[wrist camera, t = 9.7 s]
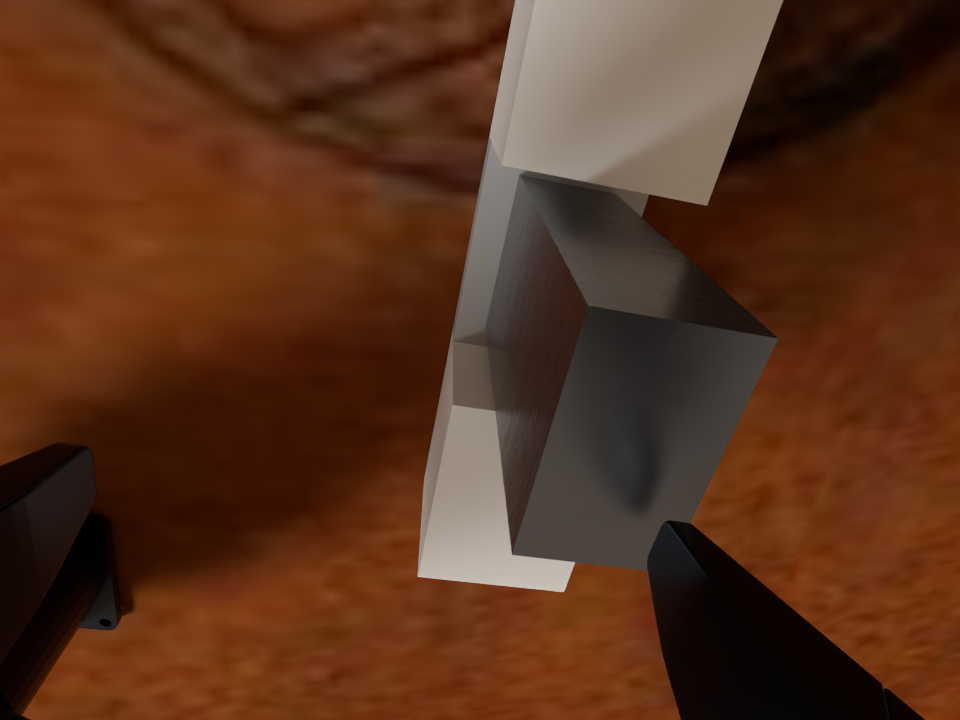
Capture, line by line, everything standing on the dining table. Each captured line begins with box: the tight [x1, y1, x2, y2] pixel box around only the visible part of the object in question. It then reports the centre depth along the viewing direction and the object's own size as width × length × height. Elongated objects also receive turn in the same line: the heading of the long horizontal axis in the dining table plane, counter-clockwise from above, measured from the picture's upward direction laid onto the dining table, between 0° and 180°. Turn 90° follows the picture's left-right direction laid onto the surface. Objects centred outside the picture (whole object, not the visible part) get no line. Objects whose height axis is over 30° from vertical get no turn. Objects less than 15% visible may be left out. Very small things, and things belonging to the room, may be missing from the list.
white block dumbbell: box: [418, 0, 783, 592], centre depth 17 cm, size 20×5×5 cm, turn 169°
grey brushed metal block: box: [485, 175, 778, 570], centre depth 14 cm, size 5×3×10 cm, turn 169°
